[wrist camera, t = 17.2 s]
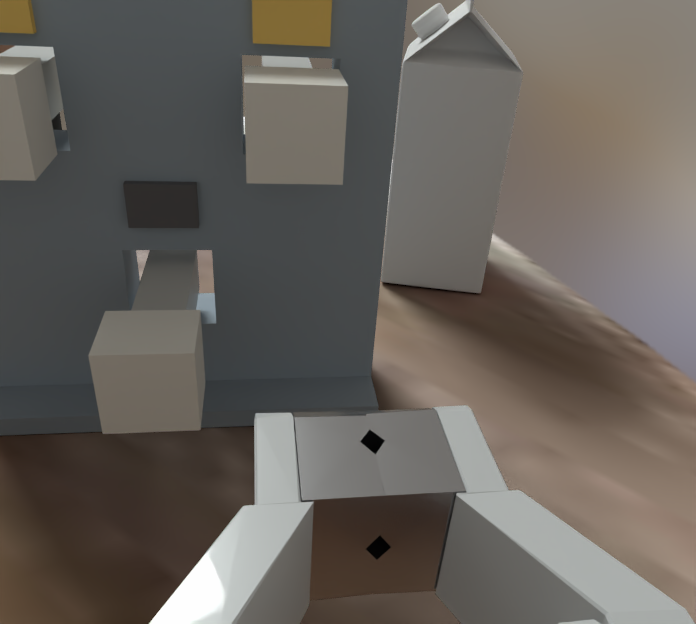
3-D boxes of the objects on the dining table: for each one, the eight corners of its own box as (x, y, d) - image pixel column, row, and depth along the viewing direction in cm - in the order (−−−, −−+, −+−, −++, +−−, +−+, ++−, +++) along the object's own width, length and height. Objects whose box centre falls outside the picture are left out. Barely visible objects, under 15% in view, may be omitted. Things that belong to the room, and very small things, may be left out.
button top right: (246, 183, 24) (244, 82, 22) (248, 114, 32) (246, 37, 30) (342, 184, 24) (348, 86, 22) (319, 116, 33) (322, 40, 31)
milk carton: (477, 253, 51) (525, -14, 41) (480, 296, 45) (539, -5, 35) (388, 243, 51) (415, -22, 42) (380, 284, 45) (409, -15, 36)
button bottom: (102, 434, 24) (88, 355, 22) (142, 300, 32) (133, 235, 31) (200, 430, 24) (194, 353, 23) (214, 299, 33) (210, 235, 31)
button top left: (-75, 179, 22) (-107, 70, 20) (16, 107, 31) (-1, 26, 29) (35, 180, 23) (14, 74, 21) (94, 109, 31) (83, 29, 29)
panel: (-43, 437, 30) (-209, -53, 20) (12, 341, 37) (-91, -60, 26) (377, 421, 33) (424, -16, 22) (355, 335, 39) (384, -31, 29)
